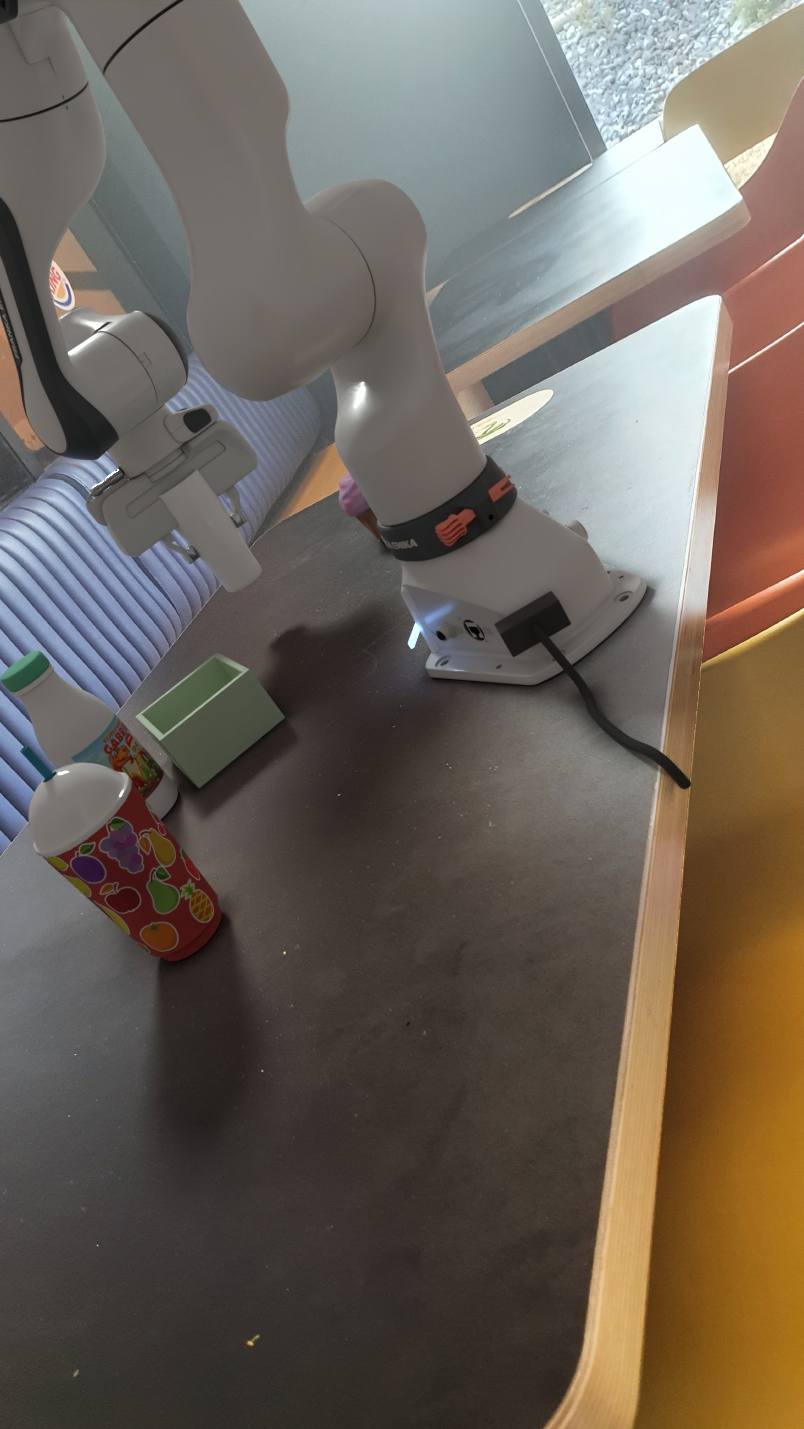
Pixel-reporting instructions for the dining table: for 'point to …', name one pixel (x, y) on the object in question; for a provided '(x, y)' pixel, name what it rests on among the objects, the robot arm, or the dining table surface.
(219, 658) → the tub
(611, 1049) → the dining table surface
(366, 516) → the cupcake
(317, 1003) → the dining table surface
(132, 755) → the milk bottle
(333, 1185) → the dining table surface
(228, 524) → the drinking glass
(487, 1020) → the dining table surface
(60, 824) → the smoothie
